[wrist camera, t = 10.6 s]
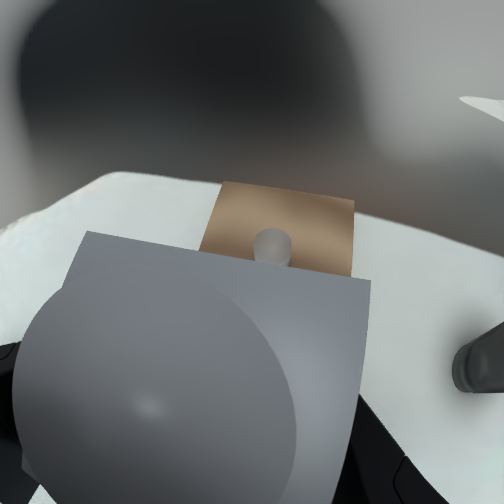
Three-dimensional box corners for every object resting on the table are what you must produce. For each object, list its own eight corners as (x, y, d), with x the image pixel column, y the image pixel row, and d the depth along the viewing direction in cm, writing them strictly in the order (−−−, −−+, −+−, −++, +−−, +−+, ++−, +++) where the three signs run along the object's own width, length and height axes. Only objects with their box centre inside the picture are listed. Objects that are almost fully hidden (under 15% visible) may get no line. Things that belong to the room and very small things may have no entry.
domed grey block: (281, 473, 10) (306, 623, 1) (153, 439, 10) (-26, 470, 2) (308, 351, 12) (403, 237, 3) (183, 325, 13) (52, 189, 4)
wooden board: (329, 391, 19) (352, 391, 13) (174, 359, 20) (143, 345, 15) (349, 213, 26) (365, 170, 20) (226, 194, 27) (217, 149, 22)
